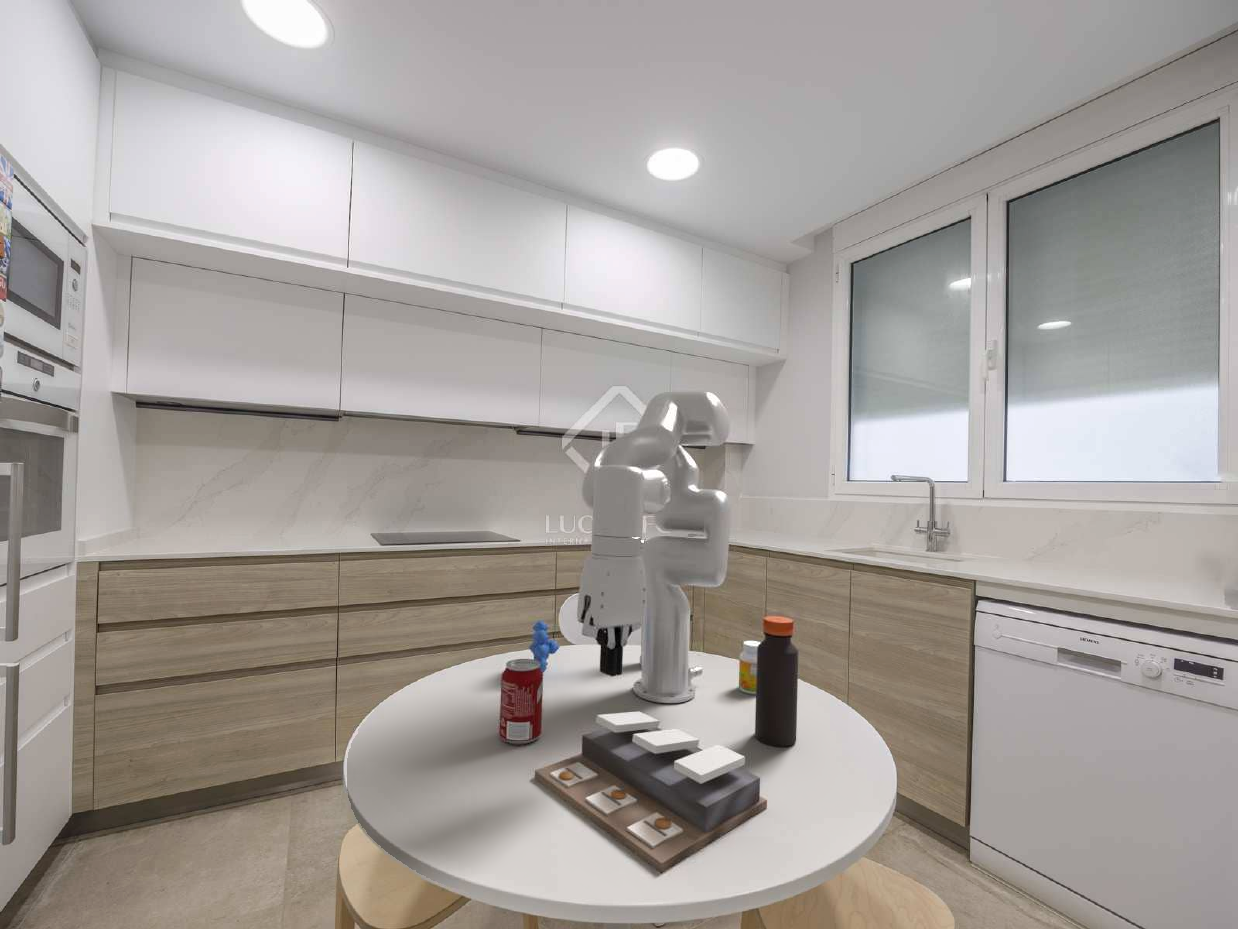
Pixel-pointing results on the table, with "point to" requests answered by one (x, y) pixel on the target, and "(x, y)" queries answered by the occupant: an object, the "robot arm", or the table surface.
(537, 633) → the grapes
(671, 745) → the rocker middle
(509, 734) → the soda can
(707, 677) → the table surface
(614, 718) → the rocker far
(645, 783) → the rocker switch unit
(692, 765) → the rocker near
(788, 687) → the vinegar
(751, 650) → the supplement bottle
